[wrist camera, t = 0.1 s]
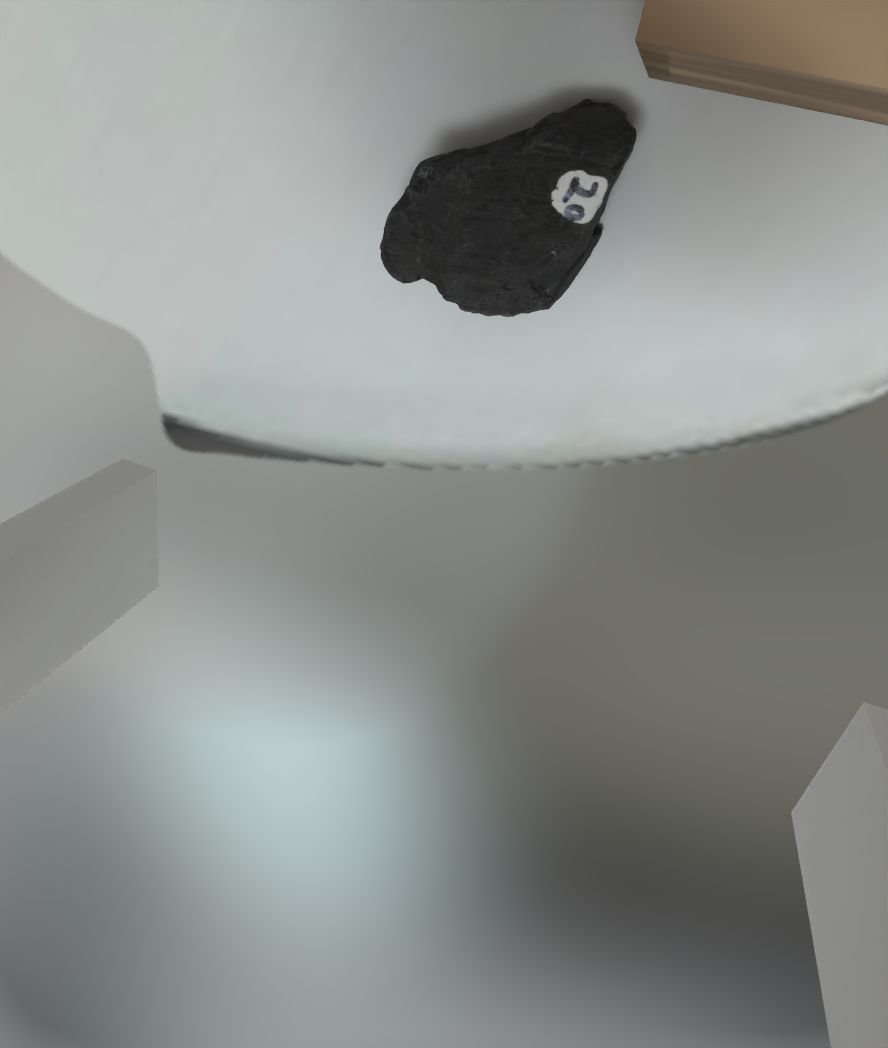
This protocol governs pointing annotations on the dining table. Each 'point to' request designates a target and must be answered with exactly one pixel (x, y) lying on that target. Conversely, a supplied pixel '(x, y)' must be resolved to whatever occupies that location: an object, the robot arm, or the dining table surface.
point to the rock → (510, 212)
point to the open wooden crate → (774, 51)
